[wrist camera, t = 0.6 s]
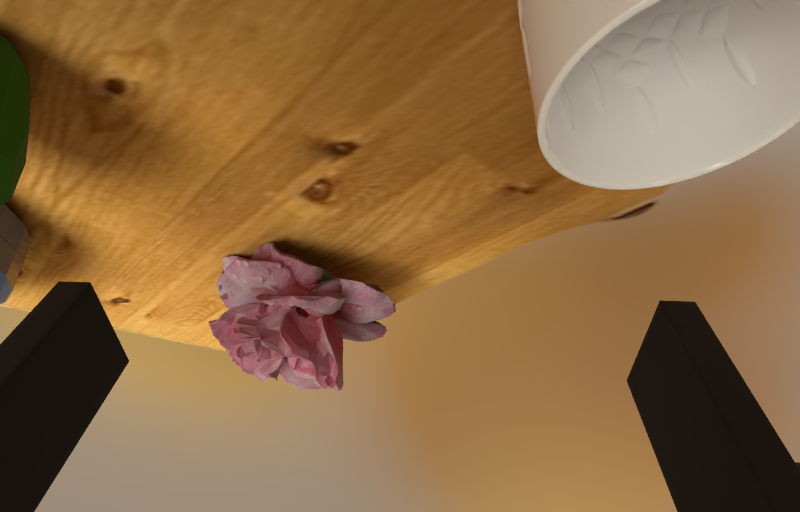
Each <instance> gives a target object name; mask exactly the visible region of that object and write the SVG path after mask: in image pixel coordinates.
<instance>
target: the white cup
mask: <svg viewBox="0 0 800 512" xmlns="http://www.w3.org/2000/svg"><path fill="white" fill-rule="evenodd" d="M517 7H518V12H519V21H520V30H521V39H522V45H523V51H524V57H525V63H526V69H527V75H528V81H529V87H530V93H531V99H532V105H533V111H534V117H535V123H536V130H537V136H538V142H539V146H540V149H541V151H542V153H543V155H544V157H545V159H546V160H547V162H548V163H549V164H550V165H551V166H552V167H553V168H554V169H555V170H556V171H557V172H558V173H560V174H561V175H563V176H564V177H566V178H568V179H570V180H572V181H574V182H577V183H580V184H583V185H586V186H590V187H595V188H601V189H611V190H634V189H645V188H653V187H659V186H664V185H669V184H673V183H678V182H681V181H685V180H689V179H692V178H695V177H698V176H701V175H704V174H707V173H710V172H712V171H715V170H717V169H720V168H722V167H724V166H727V165H729V164H731V163H733V162H735V161H738V160H740V159H742V158H744V157H746V156H748V155H750V154H751V153H753V152H755V151H757V150H759V149H760V148H762V147H764V146H765V145H767V144H769V143H770V142H772V141H773V140H775V139H776V138H778V137H779V136H781V135H782V134H784V133H785V132H786V131H788V130H789V129H790V128H792V127H793V126H794V125H796V124H797V123H798V122H799V121H800V0H517Z"/></svg>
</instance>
